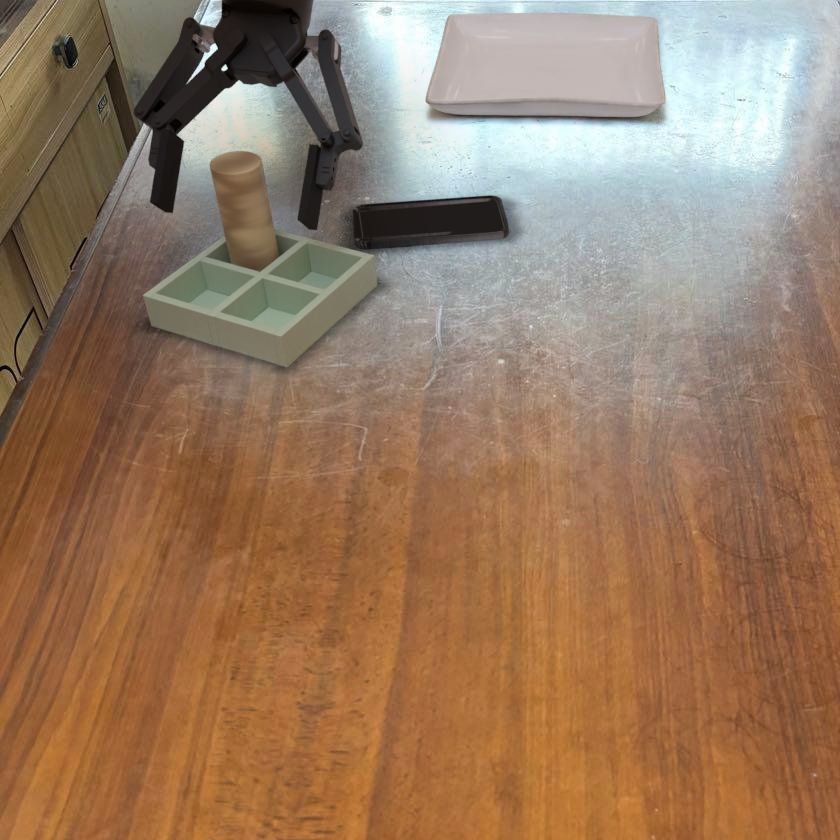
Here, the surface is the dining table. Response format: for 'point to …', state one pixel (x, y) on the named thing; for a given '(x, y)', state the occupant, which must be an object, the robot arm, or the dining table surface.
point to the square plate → (548, 65)
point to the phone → (429, 222)
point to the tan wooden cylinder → (244, 209)
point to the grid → (263, 297)
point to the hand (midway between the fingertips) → (233, 216)
